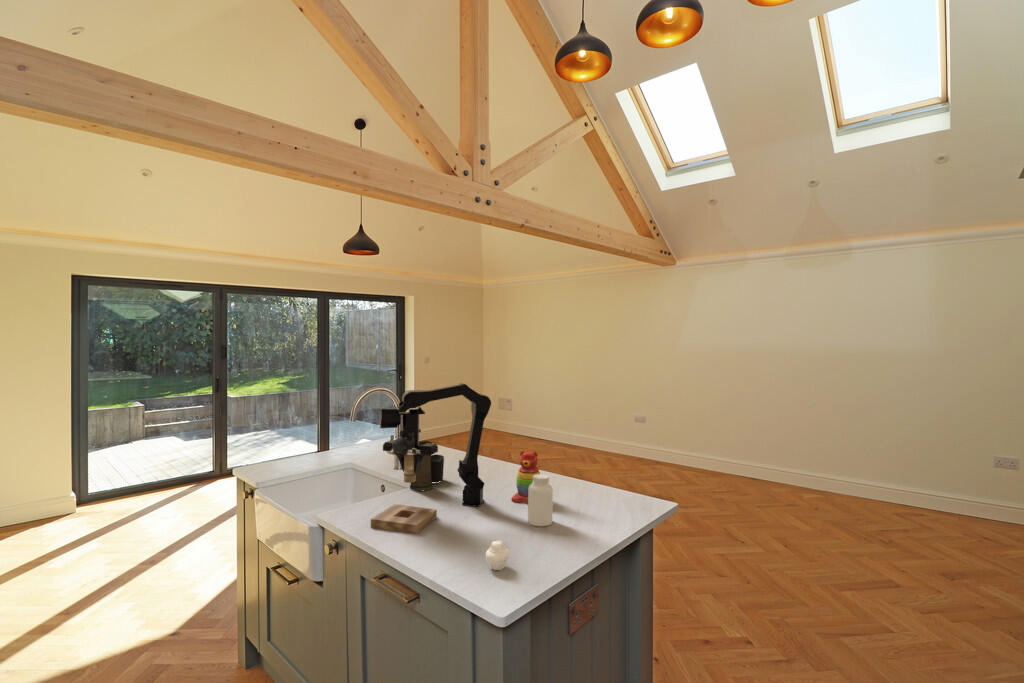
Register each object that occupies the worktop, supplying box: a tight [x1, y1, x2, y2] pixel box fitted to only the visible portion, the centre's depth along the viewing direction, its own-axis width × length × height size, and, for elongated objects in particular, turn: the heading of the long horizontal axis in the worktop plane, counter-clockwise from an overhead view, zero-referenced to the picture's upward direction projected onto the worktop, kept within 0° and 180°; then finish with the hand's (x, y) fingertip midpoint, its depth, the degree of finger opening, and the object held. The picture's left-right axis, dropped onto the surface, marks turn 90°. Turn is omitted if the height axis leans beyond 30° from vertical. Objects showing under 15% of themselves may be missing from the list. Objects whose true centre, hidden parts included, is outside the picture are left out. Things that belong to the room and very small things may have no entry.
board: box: [370, 503, 438, 534], centre depth 149 cm, size 16×14×2 cm
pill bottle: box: [527, 473, 554, 527], centre depth 150 cm, size 8×8×15 cm
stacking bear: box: [510, 451, 541, 504], centre depth 172 cm, size 11×10×18 cm
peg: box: [403, 453, 416, 484], centre depth 160 cm, size 4×4×9 cm
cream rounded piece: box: [485, 540, 510, 571], centre depth 119 cm, size 6×6×7 cm
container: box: [409, 440, 433, 491], centre depth 184 cm, size 9×9×18 cm
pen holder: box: [431, 454, 445, 482], centre depth 193 cm, size 9×9×10 cm
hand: (409, 472), depth 160 cm, fingers closed on peg, 4 cm apart
